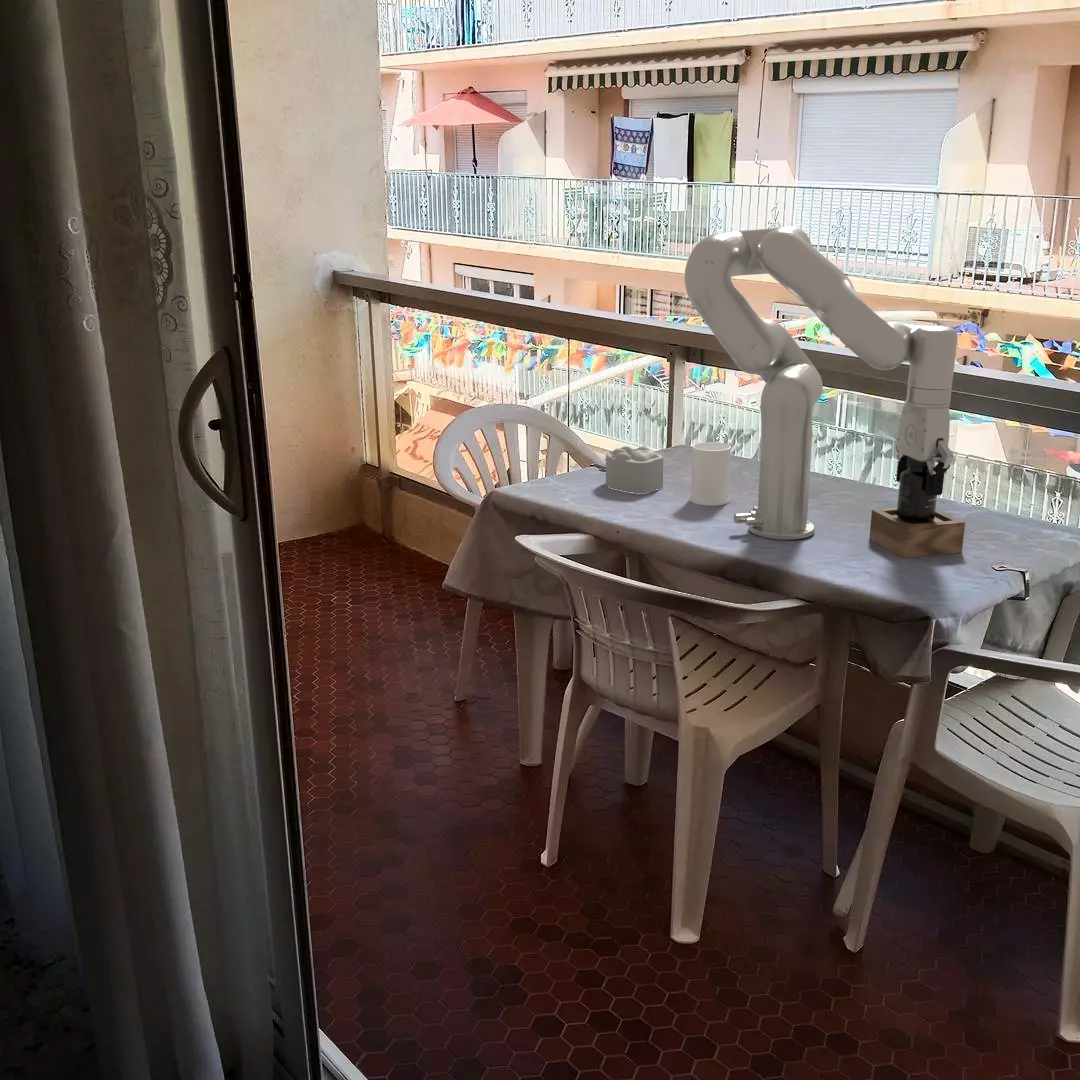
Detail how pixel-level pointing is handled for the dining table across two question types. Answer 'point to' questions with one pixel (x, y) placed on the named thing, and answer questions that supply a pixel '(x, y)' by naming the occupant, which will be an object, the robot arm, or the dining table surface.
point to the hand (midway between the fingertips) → (918, 487)
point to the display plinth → (917, 534)
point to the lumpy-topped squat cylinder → (634, 469)
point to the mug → (710, 474)
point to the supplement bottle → (915, 494)
